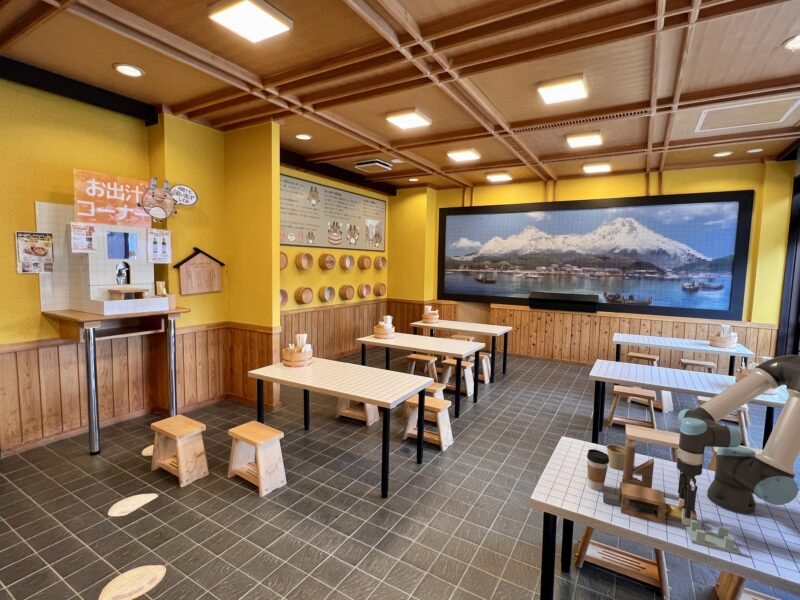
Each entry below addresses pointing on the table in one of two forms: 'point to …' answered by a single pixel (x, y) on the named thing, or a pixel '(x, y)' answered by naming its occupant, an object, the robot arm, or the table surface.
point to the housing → (642, 495)
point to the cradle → (711, 538)
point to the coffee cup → (597, 469)
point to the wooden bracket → (637, 469)
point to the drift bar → (631, 503)
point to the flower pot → (616, 456)
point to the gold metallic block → (677, 512)
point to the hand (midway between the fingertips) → (683, 520)
